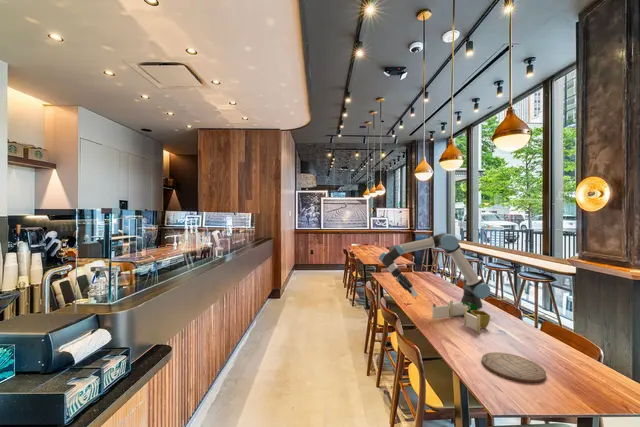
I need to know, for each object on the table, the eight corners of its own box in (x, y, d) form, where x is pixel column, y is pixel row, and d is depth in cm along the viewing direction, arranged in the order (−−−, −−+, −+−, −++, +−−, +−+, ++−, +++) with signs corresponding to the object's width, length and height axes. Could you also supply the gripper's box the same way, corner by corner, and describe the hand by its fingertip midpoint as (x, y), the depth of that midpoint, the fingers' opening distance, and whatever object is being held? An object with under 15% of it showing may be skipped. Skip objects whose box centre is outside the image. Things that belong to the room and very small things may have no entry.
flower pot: (484, 324, 191) (484, 310, 191) (490, 329, 182) (490, 315, 182) (470, 323, 191) (470, 310, 192) (475, 328, 183) (475, 314, 183)
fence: (449, 317, 203) (449, 300, 203) (453, 317, 203) (453, 300, 203) (478, 333, 175) (478, 314, 175) (482, 333, 175) (482, 313, 176)
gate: (447, 316, 202) (447, 302, 202) (449, 317, 201) (449, 303, 201) (432, 318, 199) (432, 304, 199) (433, 319, 197) (433, 304, 197)
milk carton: (472, 313, 213) (444, 313, 213) (471, 301, 214) (444, 301, 214) (478, 317, 204) (450, 316, 204) (478, 304, 205) (449, 303, 205)
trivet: (516, 388, 120) (516, 383, 120) (469, 359, 144) (469, 355, 144) (560, 379, 127) (560, 375, 127) (508, 353, 151) (508, 349, 151)
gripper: (395, 271, 229) (416, 296, 218) (386, 274, 216) (407, 301, 206) (402, 265, 225) (423, 290, 215) (393, 268, 213) (415, 295, 202)
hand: (415, 295), depth 210 cm, fingers open, 3 cm apart
